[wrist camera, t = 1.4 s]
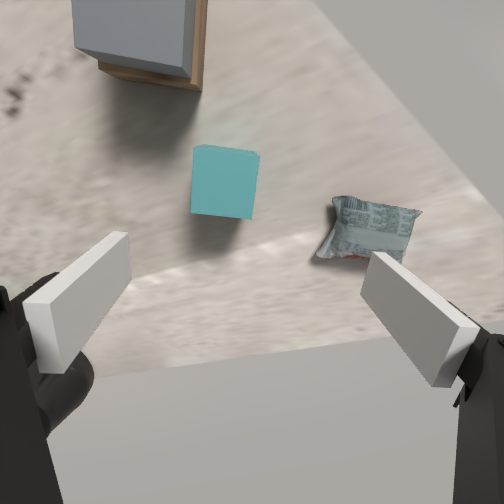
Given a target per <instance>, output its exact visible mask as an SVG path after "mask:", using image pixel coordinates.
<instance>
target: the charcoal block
mask: <svg viewBox="0 0 504 504" xmlns="http://www.w3.org/2000/svg"><path fill="white" fill-rule="evenodd" d="M71 2H72V16H73V31H74V45H75V48H77V49H79V50H81V51H83V52H85V53H86V54H88V55H90V56H92V57H94V58H95V59H97V60H99V61H101V62H103V63H107V64H112V65H118V66H123V67H129V68H134V69H139V70H145V71H150V72H156V73H161V74H167V75H172V76H178V77H183V78H188V79H191V75H192V59H193V43H194V27H195V12H196V0H71Z"/></svg>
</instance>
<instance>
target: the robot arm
mask: <svg viewBox="0 0 504 504" xmlns="http://www.w3.org/2000/svg"><path fill="white" fill-rule="evenodd" d="M131 280H132V276H131V262H130V247H129V233H128V232H116V231H113V232H112V233H110V234H109V235H108V236H106V237H105V238H104V239H103V240H101V241H100V242H99V243H97V244H96V245H95V246H94V247H92V248H91V249H90V250H89V251H87V252H86V253H85V254H83V255H82V256H81V257H80V258H78V259H77V260H76V261H74V262H73V263H72V264H71V265H69V266H68V267H67V268H65V269H64V270H63V271H62V272H54V273H52V274H50V275H47V276H45V277H42V278H41V279H40V280H38V281H37V282H35V283H34V284H33V286H30V287H29V288H27V289H26V290H25V292H22V293H20V294H19V295H18V296H16V297H15V298H14V299H12V300H11V301H9V297H8V294H7V290H6V288H5V287H4V286H0V504H63V500H62V496H61V492H60V489H59V485H58V481H57V477H56V474H55V470H54V466H53V463H52V459H51V455H50V451H49V448H48V444H47V440H46V439H47V437H48V436H49V434H50V433H51V431H52V430H53V429H55V428H56V427H57V426H58V425H59V424H60V423H61V422H62V421H63V420H64V419H65V418H66V417H67V416H68V415H69V414H70V413H71V412H72V411H73V410H75V409H76V408H77V407H78V406H79V405H80V404H81V403H82V402H83V401H84V399H85V398H86V396H87V394H88V392H89V391H90V389H91V387H92V385H93V380H94V373H93V369H92V366H91V364H90V362H89V361H88V359H87V358H86V356H85V355H84V354H83V353H82V352H81V351H80V350H81V349H82V348H83V346H84V345H85V344H86V342H87V341H88V339H89V338H90V337H91V335H92V334H93V333H94V331H95V330H96V328H97V327H98V326H99V324H100V323H101V321H102V320H103V319H104V317H105V316H106V315H107V313H108V312H109V310H110V309H111V308H112V306H113V305H114V304H115V302H116V301H117V299H118V298H119V297H120V295H121V294H122V292H123V291H124V290H125V288H126V287H127V286H128V284H129V283H130V281H131ZM360 295H361V296H362V297H363V299H364V300H365V301H366V303H367V304H368V305H369V307H370V308H371V309H372V310H373V312H374V313H375V314H376V316H377V317H378V318H379V319H380V321H381V322H382V323H383V325H384V326H385V327H386V329H387V330H388V331H389V332H390V334H391V335H392V336H393V338H394V339H395V340H396V341H397V343H398V344H399V345H400V346H401V348H402V349H403V351H404V352H405V353H406V354H407V356H408V357H409V358H410V360H411V361H412V362H413V363H414V365H415V366H416V367H417V369H418V370H419V371H420V373H421V374H422V375H423V376H424V378H425V379H426V380H427V382H428V383H429V384H430V385H431V387H445V388H451V386H452V384H453V382H454V380H455V378H456V376H457V375H458V376H459V377H460V378H461V379H462V380H463V382H464V383H465V384H464V386H463V387H462V389H461V391H460V393H459V395H458V397H457V399H456V401H455V403H454V405H453V407H455V408H456V407H457V406H458V405H460V406H459V420H458V435H457V449H456V464H455V478H454V492H453V504H504V335H502V334H490V333H489V332H488V331H486V330H485V329H484V328H482V327H481V326H480V325H479V324H477V323H476V322H475V321H474V320H472V319H471V318H470V317H467V315H466V314H465V313H463V312H462V311H460V309H458V308H457V307H456V306H454V305H453V304H452V303H451V302H449V301H447V300H445V299H444V298H442V297H441V296H440V295H439V294H437V293H436V292H435V291H433V290H432V289H431V288H430V287H428V286H427V285H426V284H425V283H423V282H422V281H421V280H420V279H418V278H417V277H416V276H415V275H413V274H412V273H411V272H410V271H408V270H407V269H406V268H404V267H403V266H402V265H401V264H399V263H398V262H397V261H396V260H394V259H393V258H392V257H391V256H389V255H388V254H387V253H386V252H373V251H372V254H371V258H370V261H369V265H368V268H367V272H366V275H365V279H364V282H363V286H362V289H361V293H360Z"/></svg>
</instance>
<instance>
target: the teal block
mask: <svg viewBox="0 0 504 504" xmlns="http://www.w3.org/2000/svg"><path fill="white" fill-rule="evenodd" d="M259 159H260V156H259V155H258V154H257V153H256V152H255V151H249V150H242V149H234V148H227V147H219V146H212V145H201V146H197V147H194V148H193V170H192V192H191V213H197V214H206V215H215V216H224V217H233V218H242V219H251V220H252V212H253V205H254V197H255V190H256V182H257V174H258V167H259Z"/></svg>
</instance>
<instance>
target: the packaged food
mask: <svg viewBox="0 0 504 504" xmlns="http://www.w3.org/2000/svg"><path fill="white" fill-rule="evenodd" d="M332 203H333V205H334V207H335V210H336V223H335V225H334V227H333V229H332V231H331V232H330V234H329V235H328V237H327V239H326V240H325V242H324V243H323V245H322V247H321V248H320V249H318V251H317V252H316V254H315V255H316V256H318V257H320V258H327V259H330V258H332V257H335V256H336V257H341V258H349V259H355V258H359V259H363V260H368V261H370V258H371V254H372V251H373V252H386V253H387V254H388V255H389V256H391V257H392V258H393V259H394V260H396V261H397V262H398V263H399V264H402V258H403V256H405V251H406V248H407V245H408V242H409V239H410V236H411V232H412V229H413V225H414V221H415V219H416V218H417V217H418V216H419V215H420V214H421V213H422V211H419V210H415V209H413V210H412V209H406V208H401V207H397V206H389V205H384V204H376V203H372V202H368V201H361V200H360V199H357V198H355V197H352V196H337V197H333V198H332Z"/></svg>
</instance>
